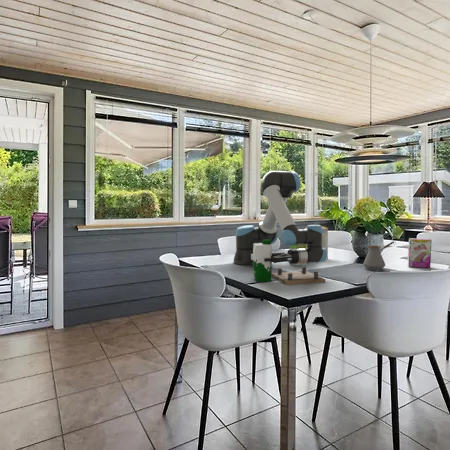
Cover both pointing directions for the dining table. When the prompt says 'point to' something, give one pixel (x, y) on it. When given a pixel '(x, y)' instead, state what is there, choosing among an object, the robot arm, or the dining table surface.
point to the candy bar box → (419, 253)
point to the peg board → (298, 277)
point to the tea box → (299, 246)
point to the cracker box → (324, 239)
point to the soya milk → (262, 269)
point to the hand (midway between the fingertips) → (254, 258)
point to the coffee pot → (375, 258)
